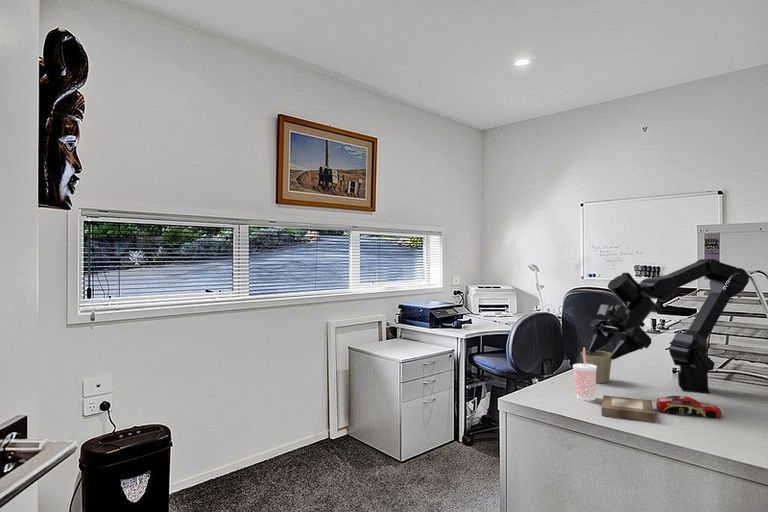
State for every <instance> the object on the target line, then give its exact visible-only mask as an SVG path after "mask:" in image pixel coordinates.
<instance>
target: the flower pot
mask: <svg viewBox="0 0 768 512" xmlns="http://www.w3.org/2000/svg"><path fill="white" fill-rule="evenodd" d="M611 354H612V352H609V351H602V350H597V351H595V352H593V353H590V352H589V350H585V362H586V364H592V365H596V366H597V370H596V384H605V383H609V382H610V374H611V366H612V361H613V359H611V358H610V356H611ZM580 355H581V356H582V359H583V360H584V358H583V351H581V352H580Z"/></svg>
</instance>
